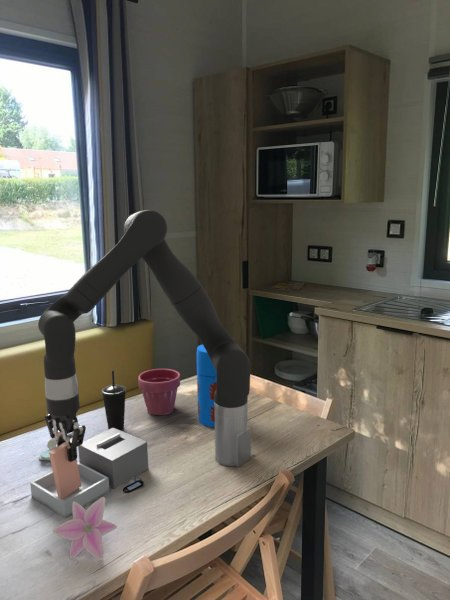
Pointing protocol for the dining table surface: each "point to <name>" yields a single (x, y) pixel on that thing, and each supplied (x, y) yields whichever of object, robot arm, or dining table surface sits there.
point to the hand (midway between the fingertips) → (67, 457)
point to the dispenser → (115, 455)
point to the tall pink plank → (64, 471)
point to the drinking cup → (114, 404)
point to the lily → (86, 529)
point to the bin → (84, 495)
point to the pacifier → (51, 446)
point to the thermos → (205, 387)
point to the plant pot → (159, 390)
